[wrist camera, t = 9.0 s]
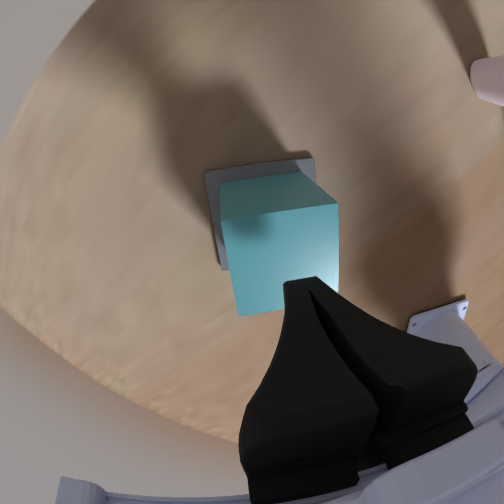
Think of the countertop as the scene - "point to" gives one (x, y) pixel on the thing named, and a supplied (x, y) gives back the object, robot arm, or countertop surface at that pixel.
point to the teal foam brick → (277, 237)
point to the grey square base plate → (241, 173)
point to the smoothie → (489, 79)
